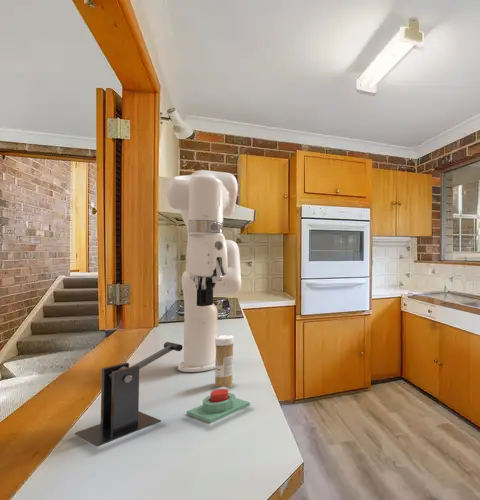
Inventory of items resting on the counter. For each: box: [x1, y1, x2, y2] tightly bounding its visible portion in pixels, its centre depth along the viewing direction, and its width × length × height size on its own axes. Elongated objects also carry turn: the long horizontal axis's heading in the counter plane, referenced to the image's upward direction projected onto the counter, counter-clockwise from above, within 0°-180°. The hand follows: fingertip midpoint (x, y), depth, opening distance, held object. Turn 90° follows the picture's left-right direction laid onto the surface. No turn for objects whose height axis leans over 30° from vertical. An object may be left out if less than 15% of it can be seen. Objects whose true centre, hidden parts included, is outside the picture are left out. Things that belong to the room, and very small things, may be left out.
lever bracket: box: [74, 362, 162, 447], centre depth 69 cm, size 11×9×13 cm
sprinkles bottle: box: [214, 334, 235, 389], centre depth 93 cm, size 5×5×14 cm
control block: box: [186, 392, 251, 424], centre depth 77 cm, size 10×8×4 cm
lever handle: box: [108, 341, 184, 383], centre depth 73 cm, size 13×5×2 cm, turn 151°
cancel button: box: [209, 388, 229, 402], centre depth 77 cm, size 4×4×2 cm
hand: (204, 305), depth 84 cm, fingers closed
